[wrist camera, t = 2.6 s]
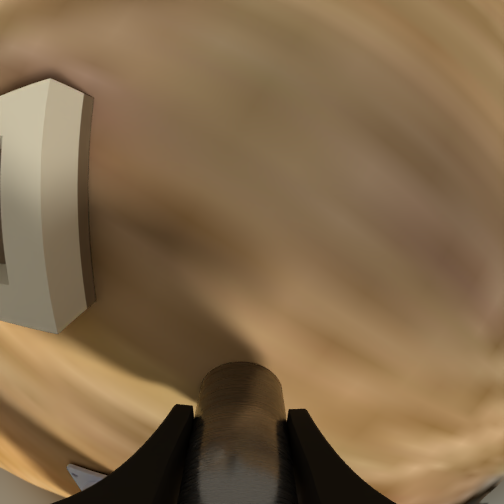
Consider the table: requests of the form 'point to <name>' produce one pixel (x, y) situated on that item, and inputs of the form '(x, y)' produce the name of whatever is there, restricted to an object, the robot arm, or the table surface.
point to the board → (45, 206)
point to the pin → (239, 441)
